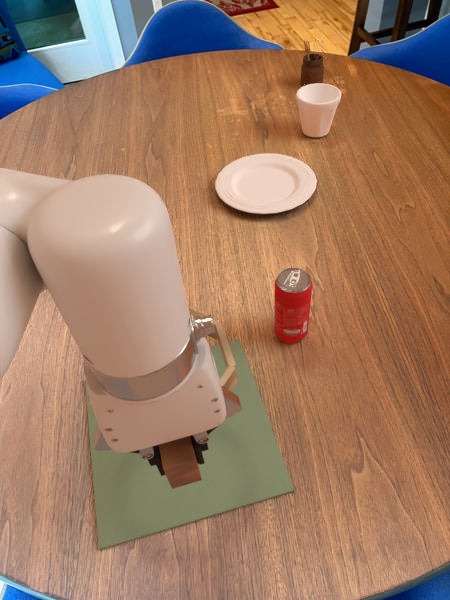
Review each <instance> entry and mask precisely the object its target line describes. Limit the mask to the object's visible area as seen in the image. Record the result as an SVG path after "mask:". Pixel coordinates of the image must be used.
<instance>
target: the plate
mask: <svg viewBox="0 0 450 600" xmlns="http://www.w3.org/2000/svg"><path fill="white" fill-rule="evenodd" d="M317 184H318V180H317V177H316V173H315V172H314V171H313V169H312V168H311V167H310V166H309V165H308V164H306V163H305V162H303V161H302V160H300V159H299V158H295V157H293V156H291V155H286V154H281V153H272V152H271V153H269V152H265V153H254V154H250V155H246V156H243V157H240V158H237V159H235V160H233V161H231V162H230V163H228V164H227V165H226V166H224V167H223V168H222V169H221V170H220V172H218V174H217V176H216V179H215V181H214V185H215V186H214V187H215V192H216V194H217V196H218V198H219V199H220V200H221V201H222V202H223V203H224V204H226V206H228V207H230V208H232V209H233V210H236V211H240V212H243V213H247V214H253V215H263V216H264V215H275V214H276V215H277V214H281V213H284V212H285V213H286V212H288V211H292V210H294V209H296V208H298V207H301V206H302V205H304V204H305V203H306V202H308V201H309V199H311V198H312V196H313V195H314V193H315V192H316V188H317Z"/></svg>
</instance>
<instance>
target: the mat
mask: <svg viewBox="0 0 450 600" xmlns="http://www.w3.org/2000/svg"><path fill="white" fill-rule="evenodd" d="M228 343H229V346H230V349H231V352H232V355H233V358H234V361H235V364H236V370H237V379H238V380H237V383H236V385H235V387H234V388H233V390H232V391H231V392H233V393H234V394H236V395H237V396H238V397H239V401H240V404H241V407H242V409H241V410H240V411H239V412H237V413H235V414H234V415H232V416H230V417H228V418H227V419H224V421H223V422H222V424H220V425H219V426H218V427H217V428H216V429H214V430H213V431H212V432H211V433H210V434H208V435H209V438H210V440H209V441H208V442H207V444H208V448H209V450H206V451H202V454H203V458H204V462H205V463H204V464H201V465H200V464H198V465H199V469H200V473H201V478H202V480H201V481H197V482H194V483H191V484H187V485H184V486H180V487H177V488H174V489H172V488H171V486H170V483H169V481H168V479H167V477H166V475H163V476H161V475H160V472H159V470H158V468H157V466H156V465H154V466H150V464H149V462H148V460H144V459H142V458H141V455H140V454H139V453H131V452H126V453H119V452H116V451H114V450H103V451H97V450H95V447H94V433H95V431H96V429H97V426H98V422H97V419H96V416H95V413H94V411H93V410H92V408H91V406H90V404H89V394H88V389H87V384H86V380H85V379H84V385H85V386H84V387H85V388H84V389H85V401H86V412H87V423H88V435H89V436H88V437H89V449H90V460H91V473H92V484H93V485H92V486H93V498H94V509H95V510H94V511H95V524H96V532H97V533H96V534H97V546H98V547H97V548H98V550H99V551H102V550H105V549H109V548H111V547H115V546H119V545H122V544H125V543H128V542H131V541H134V540H137V539H141V538H144V537H148V536H151V535H154V534H158V533H161V532H165V531H168V530H170V529H174V528H177V527H181V526H184V525H188V524H191V523H194V522H197V521H201V520H203V519H208V518H210V517H213V516H217V515H220V514H224V513H227V512H230V511H234V510H237V509H240V508H243V507H246V506H251V505H253V504H257V503H261V502H263V501H267V500H270V499H273V498H276V497H277V498H278V497H280V496H283V495H286V494H290V493H293V492H295V488H294V486H293V482H292V480H291V477H290V475H289V471H288V469H287V466H286V463H285V460H284V458H283V455H282V453H281V449H280V447H279V444H278V441H277V439H276V436H275V433H274V430H273V427H272V424H271V422H270V419H269V417H268V414H267V411H266V408H265V405H264V403H263V400H262V397H261V394H260V391H259V389H258V386H257V383H256V380H255V377H254V375H253V372H252V369H251V366H250V364H249V361H248V359H247V358H248V357H247V355H246V353H245V351H244V347H243V345H242V342H241V340H240V338H239V339H235V340H232V341H228ZM210 349H211V351H212V354H213V357H214V361H215V364H216V368H217V372H218V375H219V379H220V378H221V377H222V375H223V374H224V372H225V371H226V369H227V368H226V365H225V362H224V359H223V356H222V353H221V350H220V347H219V344H216V345H212V346H210Z"/></svg>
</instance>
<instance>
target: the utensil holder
mask: <svg viewBox="0 0 450 600" xmlns="http://www.w3.org/2000/svg"><path fill="white" fill-rule="evenodd" d="M318 42H320V44H318ZM303 44H304V52H305V55H304V56H303V58H302V64H301V67H300V86H301V87H303V86H306V85H309V84H315V83H323V82H324V74H325V71H324V70H325V69H324V68H325V66H324V56H323V55H322V54H321V53H322V50H324V49H323V48H324V47H321V46H324V40H323V38H321V37H319V39H318V38H316V39H315V41H314V44H313V53H311V44H310V41H307V40H305V39H304V41H303ZM316 47H319V50H317V48H316ZM315 50H317V52H315ZM320 51H321V52H320ZM304 84H305V85H304Z"/></svg>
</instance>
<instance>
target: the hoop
mask: <svg viewBox="0 0 450 600" xmlns="http://www.w3.org/2000/svg"><path fill="white" fill-rule="evenodd" d="M189 313H190V314H194V317H196V316H200V317H204V316H208V315H207V314H204V313H202V312H199V311H197V310H195V309H191V308H189ZM211 318H212V321H213V325H214V330H215V333H212V334H209V335H206V336H207V337H210V338H212V339H214V340H217V343H218V345H219V347H220V350H221V353H222V356H223V359H224V362H225V365H226V368H227V369H226V371H225V372H224V374H223V375H222V377H221V378H220V383H221V385H222V386H223V387H225V388H226V389H228V390H229V391H232V390H233V388H234V387H235V385H236V383H237V380H238V379H237V370H236V364H235V361H234V358H233V355H232V352H231V349H230V346H229V343H228V342H229V340H228V338H227V335H226V332H225V329H224V326H223V323H222V321H220V320H219V319H217V318H214V317H212V316H211ZM89 404H90V406H91V408H92V405H91V401H90V398H89ZM92 410H93V408H92ZM159 450H160V455H161V461H162V466H163V470H164V472H165V474H166V477H167V479H168V481H169V483H170V486H171V488H172V489H174V488H177V487H180V486H184V485H187V484H191V483H194V482H197V481H201V480H202V478H201V473H200V469H199V465H198V463H197V459H196V456H195V453H194V449H193V445H192V441H191V437H190V436H187V437H184V438H180V439H177V440H173V441H170V442H166V443H163V444H159Z"/></svg>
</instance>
